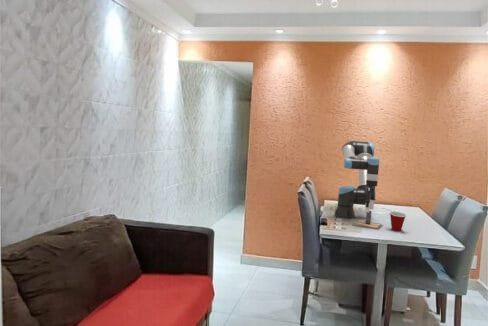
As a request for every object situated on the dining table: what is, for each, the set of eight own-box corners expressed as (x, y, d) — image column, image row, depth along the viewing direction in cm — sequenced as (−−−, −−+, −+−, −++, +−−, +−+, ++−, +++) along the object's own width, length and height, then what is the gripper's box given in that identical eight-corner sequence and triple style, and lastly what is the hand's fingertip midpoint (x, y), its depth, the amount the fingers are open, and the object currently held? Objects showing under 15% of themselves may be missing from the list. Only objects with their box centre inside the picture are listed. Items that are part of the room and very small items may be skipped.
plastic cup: (393, 233, 277) (395, 215, 275) (384, 228, 287) (386, 211, 286) (408, 233, 279) (410, 215, 278) (399, 228, 289) (401, 211, 288)
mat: (357, 221, 304) (357, 220, 304) (383, 225, 296) (383, 225, 296) (351, 226, 288) (351, 225, 288) (378, 230, 280) (378, 230, 280)
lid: (359, 221, 302) (360, 207, 301) (381, 225, 295) (382, 211, 294) (354, 225, 289) (355, 211, 288) (376, 229, 282) (378, 214, 281)
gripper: (370, 178, 302) (367, 207, 303) (362, 180, 280) (359, 212, 281) (381, 179, 298) (378, 209, 300) (373, 182, 276) (370, 214, 278)
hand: (369, 210), depth 291 cm, fingers open, 13 cm apart
